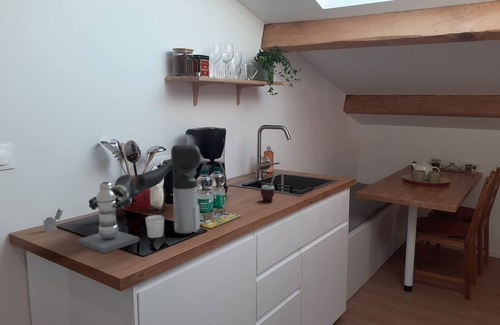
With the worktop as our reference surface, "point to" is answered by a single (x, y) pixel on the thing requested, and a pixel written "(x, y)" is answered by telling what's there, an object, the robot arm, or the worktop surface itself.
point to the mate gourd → (268, 191)
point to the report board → (108, 241)
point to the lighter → (52, 222)
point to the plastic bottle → (107, 211)
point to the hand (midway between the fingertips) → (105, 206)
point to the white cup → (155, 226)
